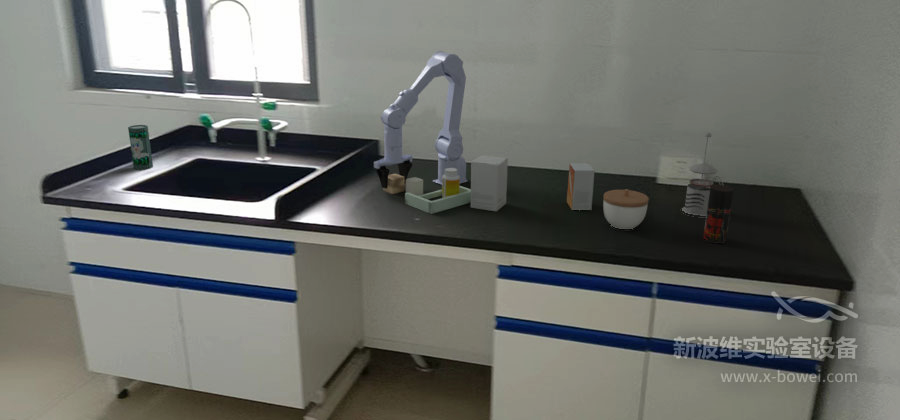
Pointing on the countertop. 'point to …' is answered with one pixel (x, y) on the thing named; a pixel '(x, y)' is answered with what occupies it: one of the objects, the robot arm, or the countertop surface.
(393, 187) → the oak block
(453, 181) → the supplement bottle
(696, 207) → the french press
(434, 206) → the tray
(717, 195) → the deodorant
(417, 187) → the cream box
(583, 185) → the small box
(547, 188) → the countertop surface
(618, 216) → the lidded bowl
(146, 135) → the can
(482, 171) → the supplement box
